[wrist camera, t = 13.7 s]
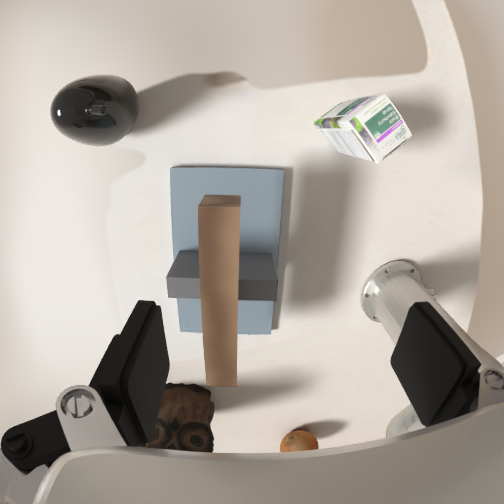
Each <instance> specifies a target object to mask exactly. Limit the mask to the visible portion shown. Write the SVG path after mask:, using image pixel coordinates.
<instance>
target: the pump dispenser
mask: <svg viewBox="0 0 504 504" xmlns="http://www.w3.org/2000/svg"><path fill="white" fill-rule="evenodd" d="M137 113H138V98H137V94H136V92H135V90H134V88H133V86H132V85H131V84H130V83H129V82H128V81H126V80H125V79H123V78H121V77H118V76H113V75H93V76H88V77H84V78H80V79H78V80H75V81H73V82H71V83H69V84H67V85H66V86H65V87H63V88H62V89H61V90H60V91H59V92H58V94H57V95H56V96H55V98H54V99H53V102H52V105H51V118H52V121H53V123H54V125H55V127H56V128H57V129H58V130H59V131H60V132H61V133H62V134H63V135H65V136H66V137H68V138H70V139H72V140H74V141H77V142H79V143H82V144H86V145H92V146H106V145H111V144H114V143H116V142H118V141H119V140H121V139H122V138H123V137H124V136H125V135H126V134H127V133H128V132H129V131H130V129H131V128H132V126H133V124H134V122H135V120H136V117H137Z"/></svg>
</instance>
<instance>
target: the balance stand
mask: <svg viewBox="0 0 504 504" xmlns="http://www.w3.org/2000/svg"><path fill="white" fill-rule="evenodd" d="M283 181H284V170H283V169H264V168H237V167H172V168H170V187H171V219H172V239H173V255H174V263H173V265H172V267H171V269H170V271H169V273H168V275H167V277H166V279H167V289H168V298H177V304H178V314H179V323H180V331H181V332H198V333H203V331H202V315H201V296H200V274H199V242H198V205H199V204H200V202H201V200H202V199H203V197H204V195H241V208H240V242H239V280H238V326H237V334H271V328H272V318H273V307H274V301H276V296H277V286H278V278H277V262H278V250H279V237H280V224H281V210H282V196H283Z"/></svg>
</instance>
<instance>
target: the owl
mask: <svg viewBox="0 0 504 504" xmlns="http://www.w3.org/2000/svg"><path fill="white" fill-rule="evenodd" d="M210 396H211V392H210V391H209V390H207V389H205V388H203V387H201V386H199V385H196V384H190V385H184V384H183V383H181V384H174V385H173V384H172V383H168V384H166V385H165V389H164V393H163V397H162V401H161V405H160V409H159V413H158V417H157V422H156V426H155V430H154V435H153V439H152V442H151V443H146V448H157V449H169V450H179V451H191V452H207V453H212V452H213V446H214V444H213V441H214V437H213V434H212V431H211V427H210V423H211V421H212V418H213V415H214V409H215V406H214V403H213V402H211V400H210Z"/></svg>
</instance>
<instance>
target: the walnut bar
mask: <svg viewBox="0 0 504 504" xmlns="http://www.w3.org/2000/svg"><path fill="white" fill-rule="evenodd" d="M240 208H241V195H204V197H203V199H202V200H201V202H200V204H199V205H198V242H199V274H200V296H201V315H202V331H203V346H204V359H205V371H206V383H207V386H228V387H237V326H238V280H239V242H240Z"/></svg>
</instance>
